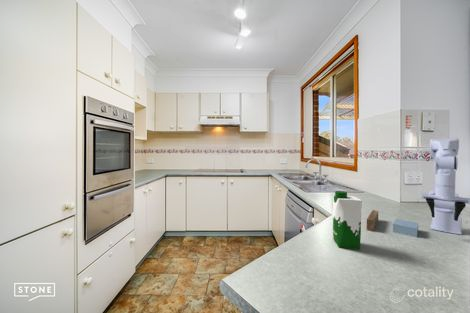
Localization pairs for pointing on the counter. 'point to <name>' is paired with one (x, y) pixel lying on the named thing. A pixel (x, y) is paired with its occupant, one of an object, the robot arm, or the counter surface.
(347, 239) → the milk carton
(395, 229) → the block
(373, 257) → the counter surface
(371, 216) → the board
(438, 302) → the counter surface
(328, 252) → the counter surface
